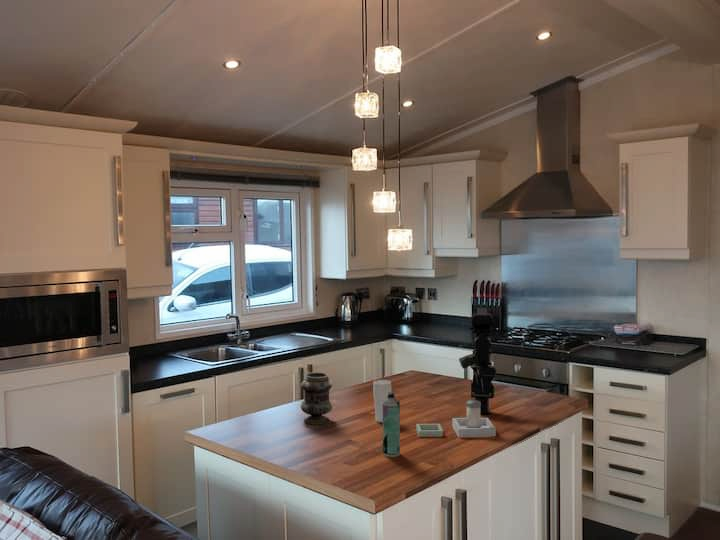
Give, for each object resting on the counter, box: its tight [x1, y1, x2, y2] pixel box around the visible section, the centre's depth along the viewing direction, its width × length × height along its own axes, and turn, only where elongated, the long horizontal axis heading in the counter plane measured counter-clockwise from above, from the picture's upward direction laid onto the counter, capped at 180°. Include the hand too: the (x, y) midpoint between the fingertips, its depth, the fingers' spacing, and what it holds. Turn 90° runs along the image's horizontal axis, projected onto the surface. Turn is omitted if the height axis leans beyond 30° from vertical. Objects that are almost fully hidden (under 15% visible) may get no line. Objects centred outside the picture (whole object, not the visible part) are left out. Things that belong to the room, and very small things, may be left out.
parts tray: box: [452, 417, 497, 439], centre depth 224 cm, size 13×13×3 cm
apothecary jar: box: [300, 371, 333, 426], centre depth 237 cm, size 12×12×18 cm
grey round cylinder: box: [466, 399, 481, 428], centre depth 224 cm, size 5×5×10 cm
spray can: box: [382, 391, 401, 458], centre depth 201 cm, size 6×6×20 cm
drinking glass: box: [372, 379, 392, 424], centre depth 237 cm, size 7×7×15 cm
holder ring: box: [415, 423, 444, 438], centre depth 223 cm, size 8×8×2 cm
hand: (482, 389), depth 232 cm, fingers open, 9 cm apart
